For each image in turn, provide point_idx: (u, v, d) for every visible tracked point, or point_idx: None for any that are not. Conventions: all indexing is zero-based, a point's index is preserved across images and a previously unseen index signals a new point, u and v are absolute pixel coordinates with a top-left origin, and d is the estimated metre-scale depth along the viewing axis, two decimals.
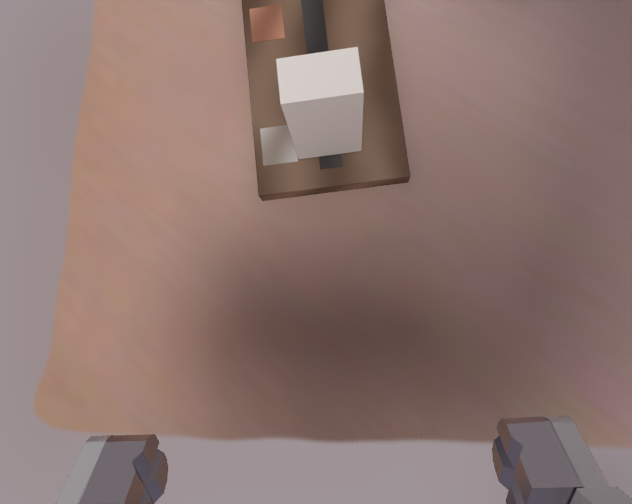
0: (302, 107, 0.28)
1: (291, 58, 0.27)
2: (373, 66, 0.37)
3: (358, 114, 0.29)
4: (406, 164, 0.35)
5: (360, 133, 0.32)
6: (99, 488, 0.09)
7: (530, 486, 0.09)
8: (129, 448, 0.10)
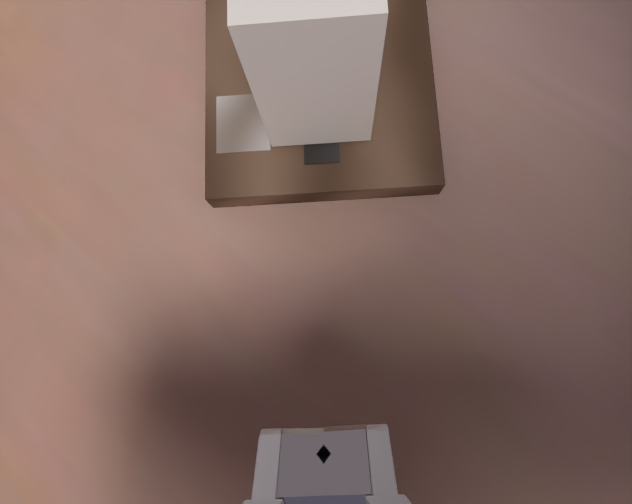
0: (271, 38, 0.15)
1: None
2: (396, 14, 0.24)
3: (373, 67, 0.16)
4: (440, 165, 0.22)
5: (372, 107, 0.19)
6: (292, 481, 0.09)
7: (323, 493, 0.09)
8: (309, 441, 0.10)
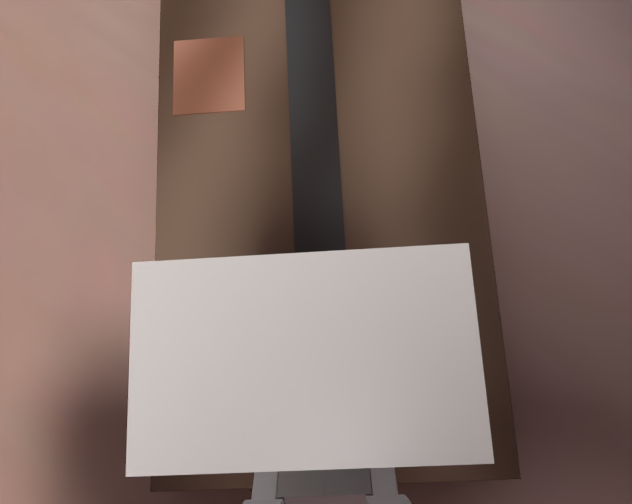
0: None
1: (194, 266, 0.07)
2: (438, 192, 0.16)
3: None
4: (511, 446, 0.14)
5: None
6: (292, 481, 0.09)
7: (324, 493, 0.09)
8: None
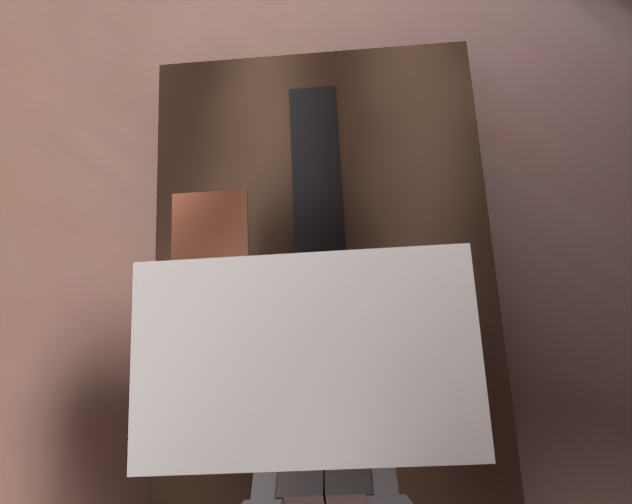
0: None
1: (195, 267, 0.07)
2: None
3: None
4: None
5: None
6: (291, 481, 0.09)
7: (324, 493, 0.09)
8: None
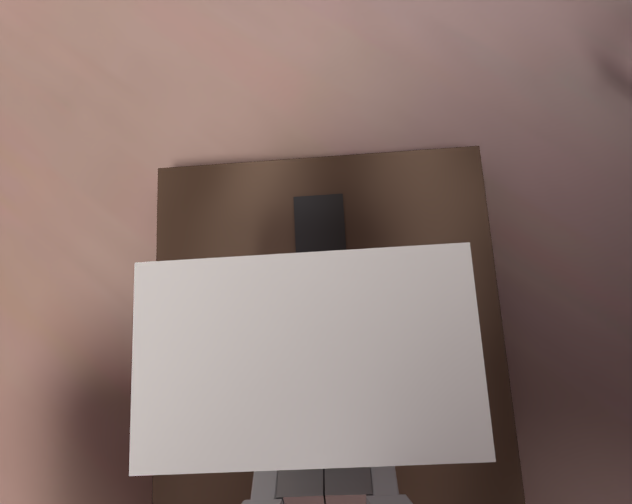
0: None
1: (196, 266, 0.07)
2: None
3: None
4: None
5: None
6: (292, 481, 0.09)
7: (324, 493, 0.09)
8: None
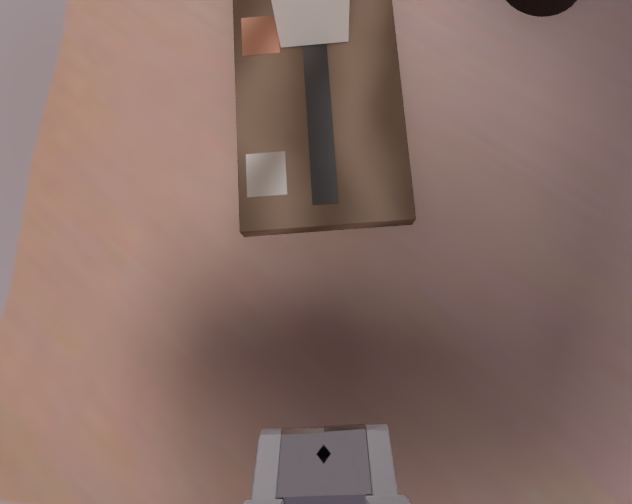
0: None
1: None
2: (378, 90, 0.32)
3: None
4: (411, 205, 0.30)
5: (347, 9, 0.30)
6: (292, 481, 0.09)
7: (323, 493, 0.09)
8: (308, 441, 0.10)
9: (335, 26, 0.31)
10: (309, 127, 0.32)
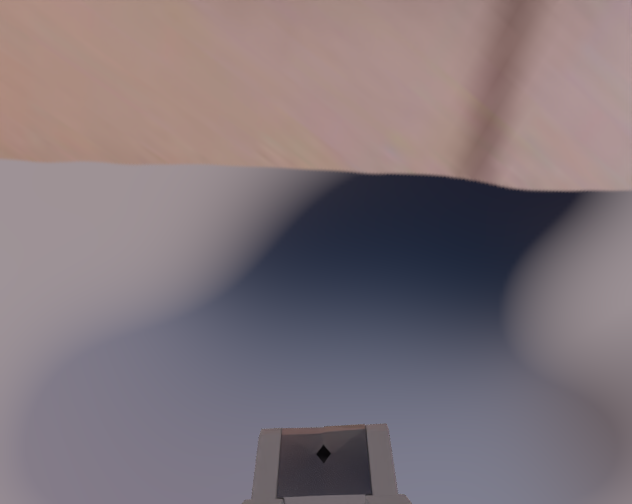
0: None
1: None
2: None
3: None
4: None
5: None
6: (292, 481, 0.09)
7: (323, 493, 0.09)
8: (308, 441, 0.10)
9: None
10: None
